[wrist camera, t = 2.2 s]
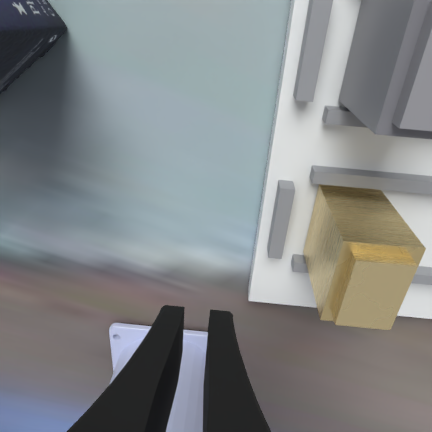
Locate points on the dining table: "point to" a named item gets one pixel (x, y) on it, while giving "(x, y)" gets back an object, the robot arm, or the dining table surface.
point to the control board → (330, 160)
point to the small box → (25, 35)
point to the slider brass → (359, 257)
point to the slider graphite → (391, 68)
